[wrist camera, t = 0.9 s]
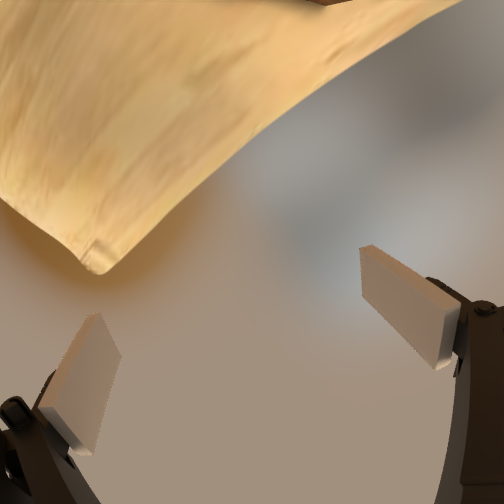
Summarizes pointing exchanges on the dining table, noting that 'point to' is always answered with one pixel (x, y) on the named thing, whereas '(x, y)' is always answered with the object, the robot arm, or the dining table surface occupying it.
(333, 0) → the guide block
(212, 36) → the dining table surface
